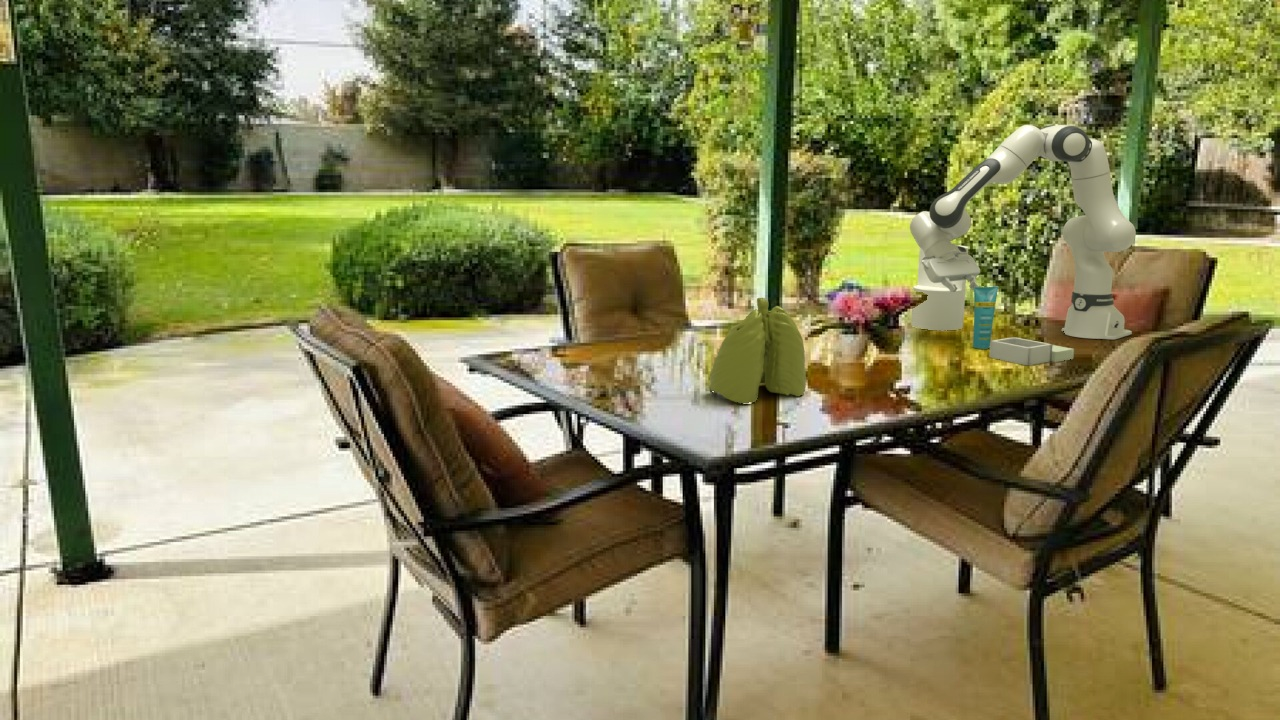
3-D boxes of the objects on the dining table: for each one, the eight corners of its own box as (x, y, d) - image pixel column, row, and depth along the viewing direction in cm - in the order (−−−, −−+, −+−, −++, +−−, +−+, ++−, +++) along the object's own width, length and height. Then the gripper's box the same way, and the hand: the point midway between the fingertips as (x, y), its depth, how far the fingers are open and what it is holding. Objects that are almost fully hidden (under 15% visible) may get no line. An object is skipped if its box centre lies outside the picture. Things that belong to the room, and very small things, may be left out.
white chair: (929, 320, 329) (933, 243, 323) (972, 327, 316) (978, 246, 310) (900, 326, 318) (905, 246, 312) (944, 333, 305) (950, 250, 299)
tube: (974, 349, 278) (978, 287, 274) (966, 346, 282) (970, 285, 278) (996, 349, 279) (1001, 287, 275) (988, 345, 283) (993, 285, 279)
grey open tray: (1025, 349, 277) (1027, 333, 276) (1073, 359, 264) (1074, 342, 263) (985, 356, 268) (986, 340, 267) (1032, 366, 255) (1033, 349, 254)
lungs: (778, 382, 239) (781, 292, 234) (816, 395, 226) (819, 299, 221) (698, 394, 228) (698, 299, 223) (732, 408, 215) (733, 307, 209)
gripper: (925, 251, 282) (948, 285, 276) (970, 247, 292) (993, 280, 286) (913, 264, 287) (935, 298, 281) (958, 260, 297) (980, 293, 291)
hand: (965, 289), depth 283 cm, fingers open, 8 cm apart
